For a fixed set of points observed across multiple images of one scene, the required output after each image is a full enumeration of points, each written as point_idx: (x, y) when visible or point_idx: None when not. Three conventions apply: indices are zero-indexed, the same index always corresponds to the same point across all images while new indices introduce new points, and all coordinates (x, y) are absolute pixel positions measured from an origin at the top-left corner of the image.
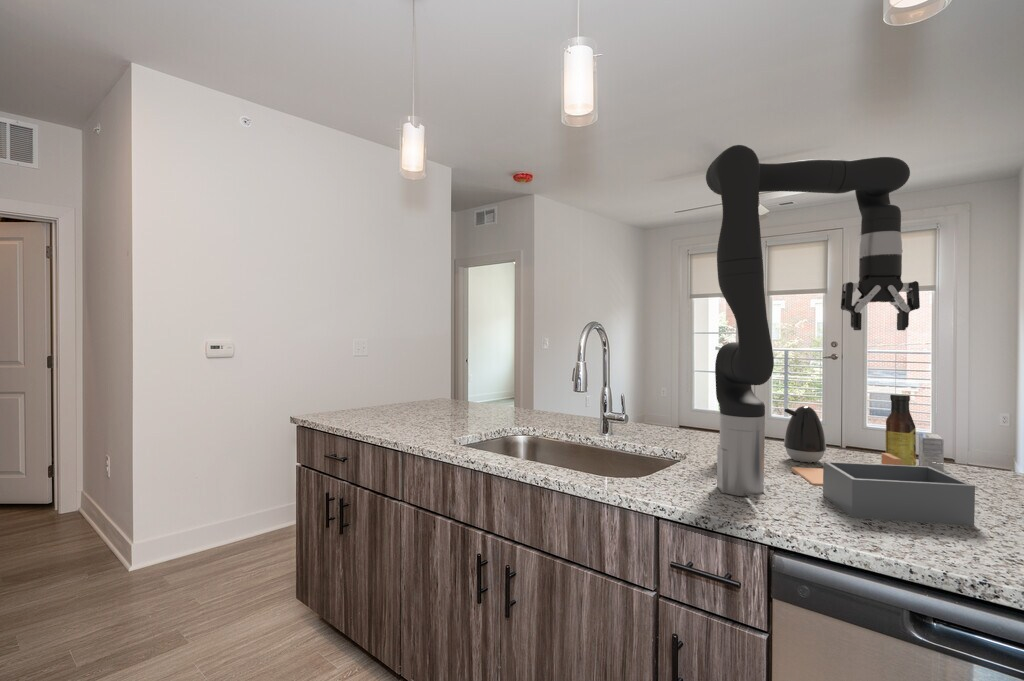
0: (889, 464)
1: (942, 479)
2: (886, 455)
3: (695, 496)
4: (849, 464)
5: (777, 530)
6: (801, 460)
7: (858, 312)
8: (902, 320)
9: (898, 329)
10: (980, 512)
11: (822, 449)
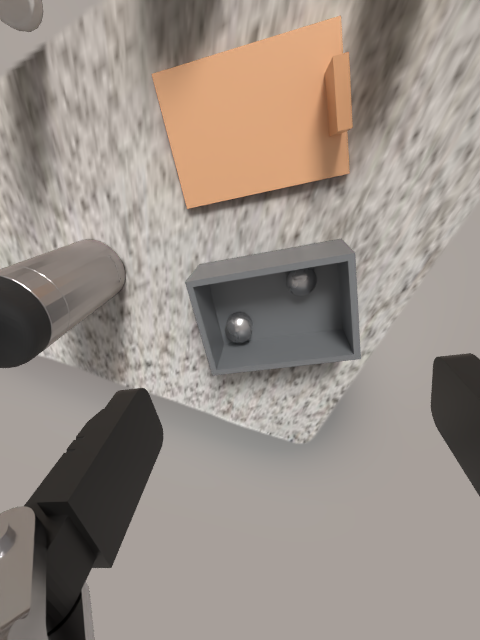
0: (333, 107)
1: (348, 298)
2: (334, 87)
3: None
4: (223, 281)
5: (151, 391)
6: None
7: (81, 565)
8: (475, 484)
9: (436, 375)
10: (402, 248)
11: None
